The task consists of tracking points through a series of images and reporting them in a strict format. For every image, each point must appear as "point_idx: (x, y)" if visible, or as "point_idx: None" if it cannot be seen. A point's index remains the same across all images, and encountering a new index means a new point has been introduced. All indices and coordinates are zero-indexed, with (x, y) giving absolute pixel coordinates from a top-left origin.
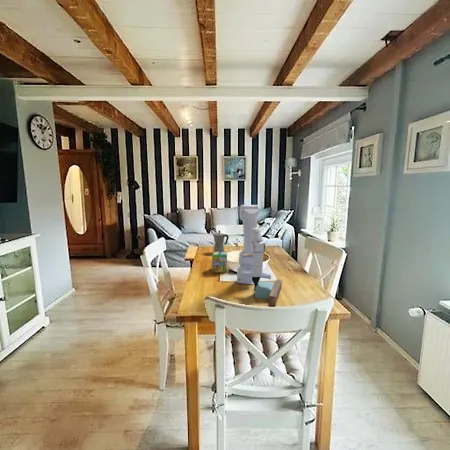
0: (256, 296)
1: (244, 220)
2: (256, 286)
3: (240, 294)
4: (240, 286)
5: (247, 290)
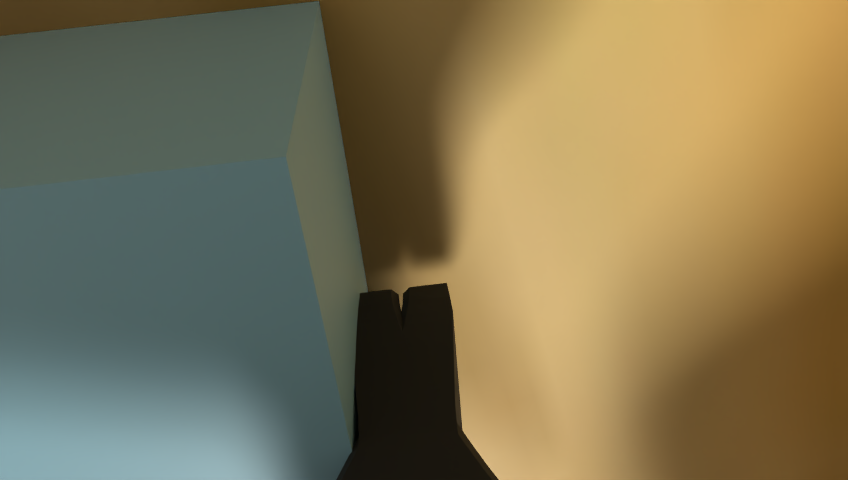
0: (259, 17)
1: None
2: (293, 326)
3: (831, 3)
4: (833, 450)
5: (650, 342)
